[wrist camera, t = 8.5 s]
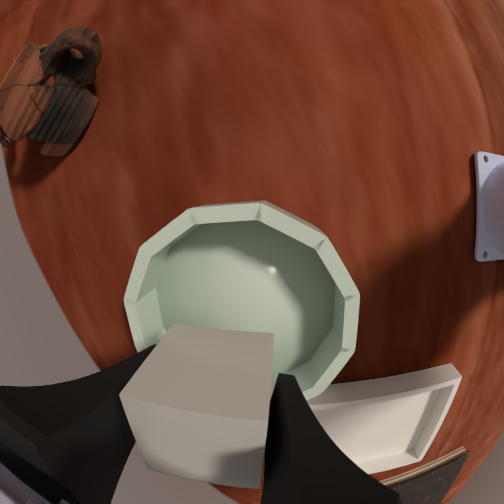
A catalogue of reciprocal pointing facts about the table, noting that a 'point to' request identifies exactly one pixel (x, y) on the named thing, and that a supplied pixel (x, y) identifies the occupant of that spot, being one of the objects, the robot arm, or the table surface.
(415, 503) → the hardcover book
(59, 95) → the pottery mug
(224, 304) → the bowl
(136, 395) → the block
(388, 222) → the table surface
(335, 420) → the tray
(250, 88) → the table surface
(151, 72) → the table surface
